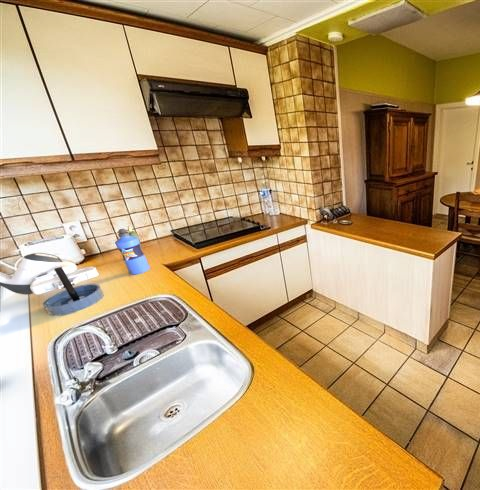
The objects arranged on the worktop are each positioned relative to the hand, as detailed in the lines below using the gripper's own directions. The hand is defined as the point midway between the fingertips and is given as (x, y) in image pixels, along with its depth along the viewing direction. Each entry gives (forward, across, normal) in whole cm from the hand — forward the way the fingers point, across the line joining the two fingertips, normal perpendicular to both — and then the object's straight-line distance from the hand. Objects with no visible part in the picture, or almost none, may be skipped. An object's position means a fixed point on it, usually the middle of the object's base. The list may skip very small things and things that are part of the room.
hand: (67, 285), depth 113 cm
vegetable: (-49, -32, -12) cm, 60 cm away
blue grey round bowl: (-3, 0, -12) cm, 12 cm away
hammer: (-1, 0, -10) cm, 10 cm away
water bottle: (-22, -26, -12) cm, 36 cm away
